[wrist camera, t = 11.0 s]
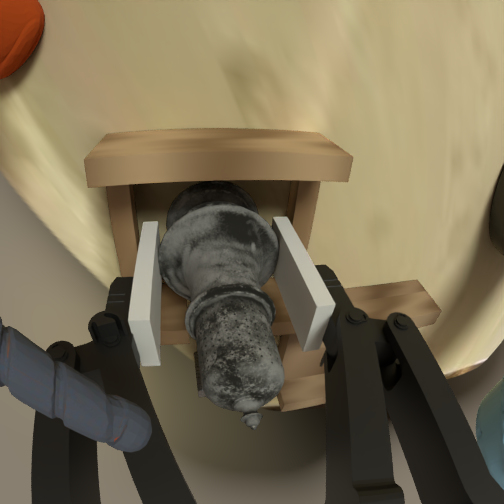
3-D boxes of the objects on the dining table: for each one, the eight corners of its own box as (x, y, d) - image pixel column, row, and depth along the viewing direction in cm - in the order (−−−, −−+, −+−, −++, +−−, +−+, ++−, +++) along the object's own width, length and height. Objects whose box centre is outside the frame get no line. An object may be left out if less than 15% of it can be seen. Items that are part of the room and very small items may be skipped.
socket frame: (318, 132, 16) (353, 157, 13) (291, 289, 22) (308, 331, 19) (106, 134, 14) (83, 159, 10) (132, 299, 20) (126, 345, 17)
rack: (417, 279, 25) (441, 310, 22) (377, 356, 31) (392, 385, 28) (290, 294, 22) (307, 336, 19) (271, 376, 29) (281, 411, 25)
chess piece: (177, 273, 19) (189, 465, 10) (148, 189, 16) (117, 404, 6) (268, 252, 20) (338, 432, 10) (256, 165, 16) (361, 352, 7)
